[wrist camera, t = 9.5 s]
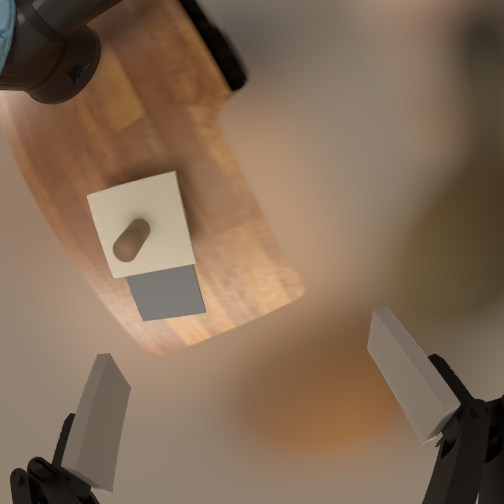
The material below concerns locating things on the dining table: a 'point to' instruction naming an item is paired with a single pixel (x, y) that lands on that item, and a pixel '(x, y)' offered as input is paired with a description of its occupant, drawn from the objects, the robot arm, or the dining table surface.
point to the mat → (167, 293)
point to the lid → (143, 225)
